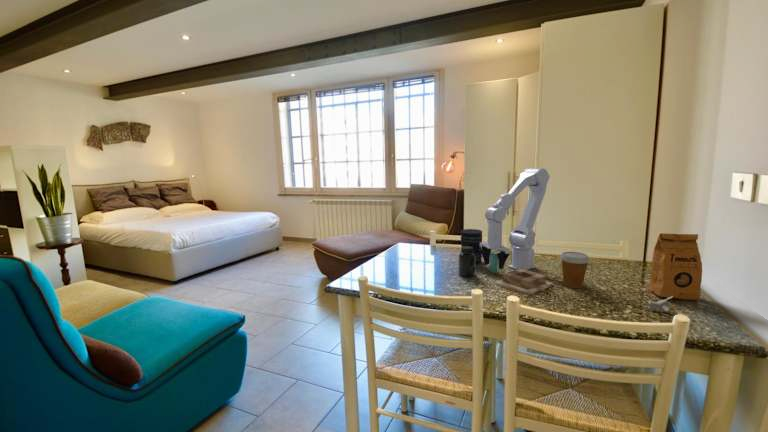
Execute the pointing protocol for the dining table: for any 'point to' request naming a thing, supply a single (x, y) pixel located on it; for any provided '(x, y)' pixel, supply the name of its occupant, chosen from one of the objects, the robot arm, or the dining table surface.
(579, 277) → the disposable coffee cup
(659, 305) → the dog figurine
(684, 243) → the coffee package
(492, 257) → the peg
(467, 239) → the storage jar
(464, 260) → the supplement bottle
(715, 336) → the dining table surface
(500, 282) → the socket board
